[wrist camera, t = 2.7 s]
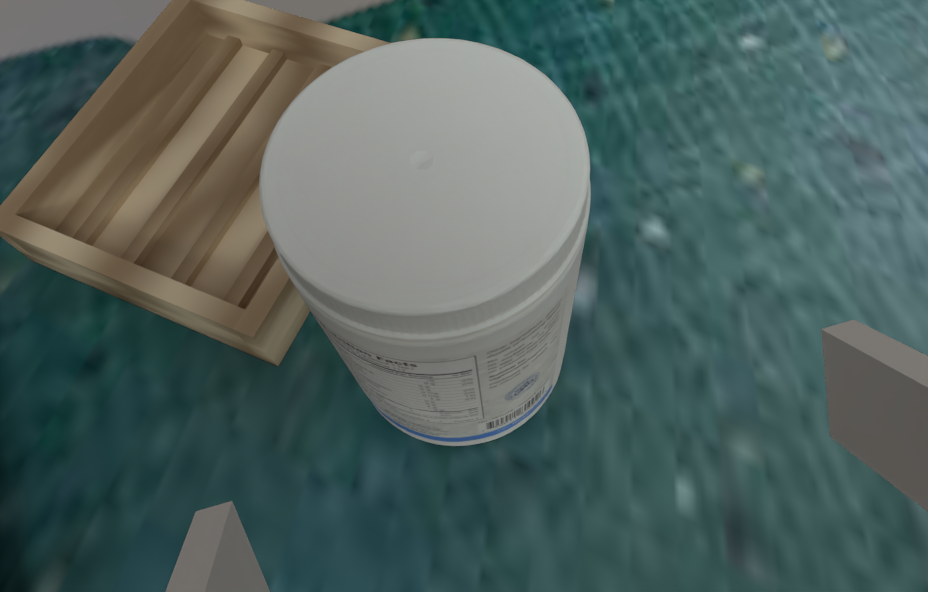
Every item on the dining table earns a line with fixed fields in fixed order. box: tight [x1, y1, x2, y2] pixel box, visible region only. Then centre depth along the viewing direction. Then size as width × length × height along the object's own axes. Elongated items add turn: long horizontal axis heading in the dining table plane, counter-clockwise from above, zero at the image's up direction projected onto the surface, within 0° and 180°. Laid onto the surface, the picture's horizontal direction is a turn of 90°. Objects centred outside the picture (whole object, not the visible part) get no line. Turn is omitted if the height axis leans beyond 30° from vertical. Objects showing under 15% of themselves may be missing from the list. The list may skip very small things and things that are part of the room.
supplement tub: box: [259, 38, 591, 446], centre depth 26 cm, size 10×10×15 cm
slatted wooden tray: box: [0, 0, 390, 366], centre depth 36 cm, size 15×17×4 cm
